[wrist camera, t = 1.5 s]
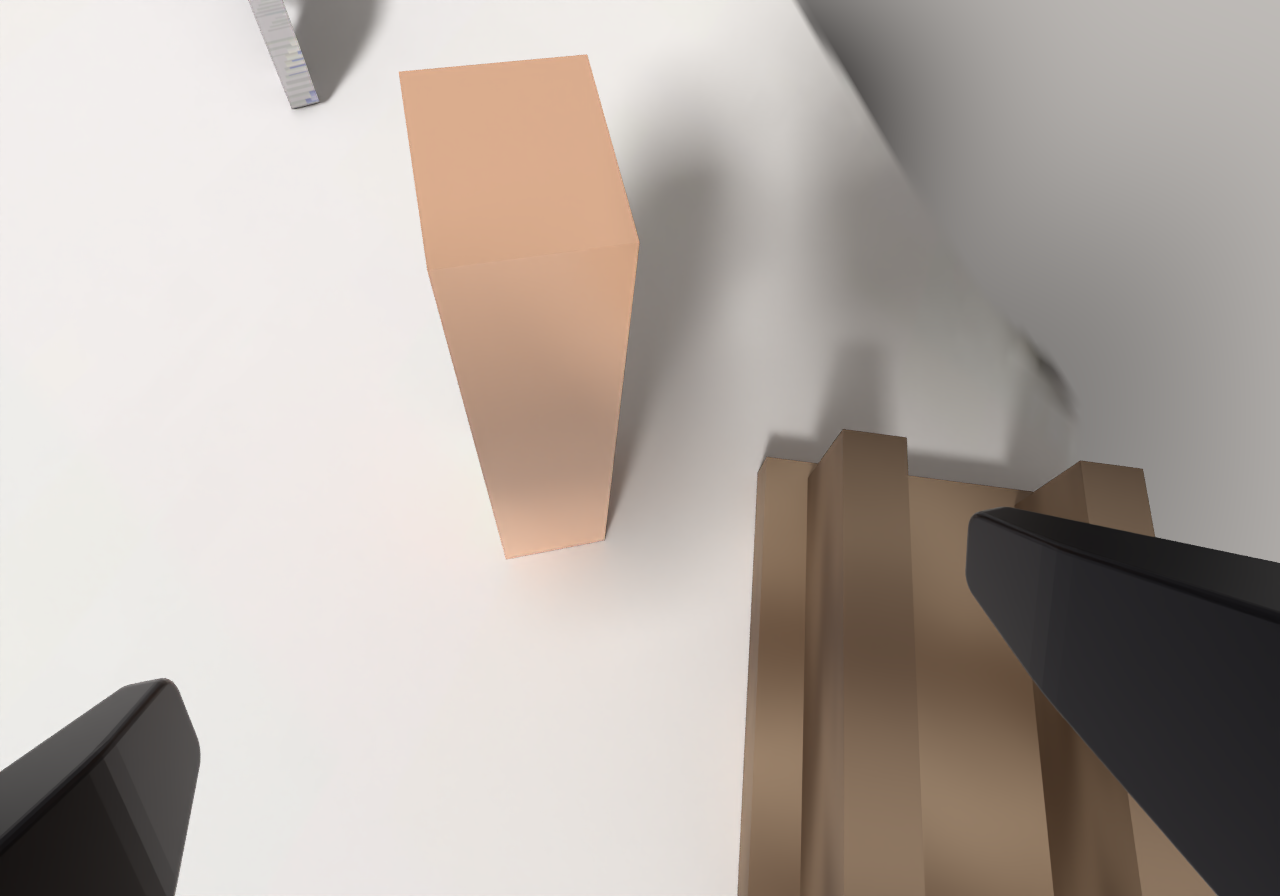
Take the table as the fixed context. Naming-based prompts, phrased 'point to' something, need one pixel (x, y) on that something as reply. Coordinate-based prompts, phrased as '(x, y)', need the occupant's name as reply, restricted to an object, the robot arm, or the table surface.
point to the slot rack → (919, 699)
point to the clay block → (528, 282)
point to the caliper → (285, 51)
